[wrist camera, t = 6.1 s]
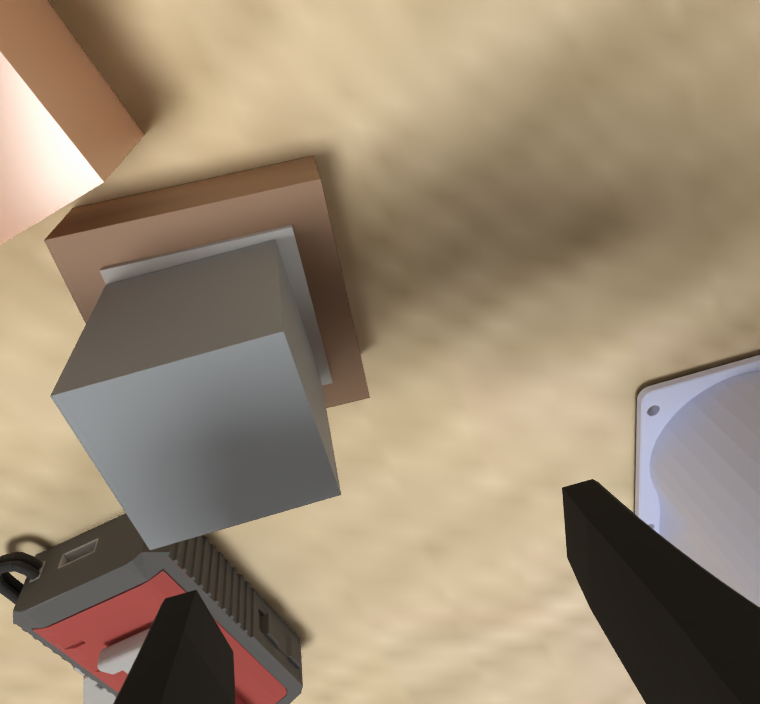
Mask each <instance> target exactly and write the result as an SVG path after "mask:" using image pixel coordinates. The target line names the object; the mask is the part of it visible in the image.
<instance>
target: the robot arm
mask: <svg viewBox="0 0 760 704" xmlns="http://www.w3.org/2000/svg"><path fill="white" fill-rule="evenodd" d="M652 406H653V407H652ZM650 407H652V408H651V409H649V408H650ZM648 409H649V410H648ZM562 493H563V506H564V520H565V533H566V547H567V558H568V560H569V562H570V565H571V567H572V569H573V571H574V574H575V576H576V578H577V580H578V583H579V585H580V587H581V589H582V591H583V594H584V596H585V598H586V600H587V602H588V604H589V607H590V609H591V610H592V612H593V614H594V616H595V617H596V619H597V621H598V623H599V624H600V626H601V628H602V629H603V631H604V633H605V635H606V636H607V638H608V640H609V641H610V643H611V645H612V647H613V648H614V650H615V652H616V653H617V655H618V657H619V658H620V660H621V662H622V664H623V665H624V667H625V669H626V670H627V672H628V674H629V675H630V677H631V679H632V681H633V682H634V684H635V686H636V687H637V689H638V691H639V692H640V694H641V696H642V698H643V699H644V701H645V703H646V704H760V355H757V356H754V357H750V358H747V359H743V360H740V361H736V362H732V363H729V364H725V365H722V366H718V367H715V368H711V369H708V370H704V371H701V372H697V373H693V374H690V375H686V376H683V377H679V378H676V379H672V380H669V381H665V382H662V383H658V384H654V385H651V386H648V387H646V388H644V389H643V390H642V391H641V392H640V393H639V395H638V397H637V430H636V483H635V514H634V513H633V512H632V511H631V510H629V509H628V508H627V507H626V506H625V505H624V504H622V503H621V502H620V501H619V500H618V499H617V498H615V497H614V496H613V495H612V494H611V493H610V492H609V491H608V490H606V489H605V488H604V487H603V486H602V485H601V484H600V483H599V482H597V481H595V480H593V479H591V480H588V481H584V482H581V483H577V484H574V485H570V486H566V487H563V488H562ZM113 704H235V676H234V655H233V650H232V648H231V647H230V645H229V643H228V642H227V640H226V638H225V637H224V635H223V633H222V632H221V630H220V628H219V627H218V625H217V623H216V622H215V620H214V618H213V617H212V615H211V613H210V612H209V610H208V608H207V606H206V605H205V603H204V601H203V600H202V598H201V596H200V595H199V593H198V591H197V590H193V591H190V592H186V593H183V594H179V595H175V596H172V597H168V598H165V599H164V601H163V603H162V604H161V606H160V608H159V610H158V613H157V615H156V617H155V619H154V621H153V623H152V625H151V627H150V629H149V632H148V634H147V636H146V638H145V640H144V642H143V644H142V646H141V648H140V651H139V653H138V655H137V657H136V659H135V661H134V663H133V665H132V667H131V669H130V671H129V673H128V675H127V677H126V679H125V681H124V683H123V685H122V687H121V689H120V691H119V693H118V695H117V697H116V699H115V701H114V703H113Z"/></svg>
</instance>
